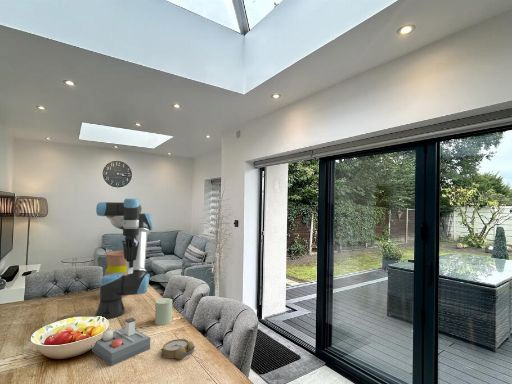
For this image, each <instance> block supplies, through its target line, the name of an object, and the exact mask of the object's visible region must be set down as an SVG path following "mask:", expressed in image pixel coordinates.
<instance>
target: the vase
mask: <svg viewBox="0 0 512 384" xmlns="http://www.w3.org/2000/svg"><path fill="white" fill-rule="evenodd" d="M104 256H105V257H106V258H105V259H106V262H107V263H106V264H107V268H106V270H105V272H104V275H103V277H104V276H106V275H109V274H113V273H122V274H123V275H127V274H126V271H127V261H126V259H124V250H111V251H108V252H104ZM128 296H129V295H123V296H122V298H125V297H128Z"/></svg>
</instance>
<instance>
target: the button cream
mask: <svg viewBox="0 0 512 384" xmlns="http://www.w3.org/2000/svg"><path fill="white" fill-rule="evenodd" d="M113 332H114V330H113V329H107V330H105V331H103V332H102V335H103V342H108V341H111V340H113Z"/></svg>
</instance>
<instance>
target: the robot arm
mask: <svg viewBox="0 0 512 384" xmlns="http://www.w3.org/2000/svg"><path fill="white" fill-rule="evenodd" d="M142 211H143V210H142V205H141V203H140V199H139V198H125V199H124V200H123V201H122V202H111V201H109V202H107V201H103V202H98V203H97V204H96V207H95V212H96V216H98V217H106V218H107V219H108V220H110V223H111V225H112V226H113V227H115V228H116V229H119V230H122V236H124V237H125V238H124V240H122V241H121V243H122V246H123V247H122V249H123V251H124V259H126V261H127V271H126V274H127V275H123V274H122V273H113V274H109V275H106V276H104V275H103V276H102V277H101V279H100V285H99V303H98V306H97V310H96V311H95V317H96V316H102V317H105V318H107V319H106V320H110V319H115V318H118V317H121V316H123V315H124V314H125V313H126V312H125V310H126V309H125V305H124V302H123V297H122V296H123V295H128V296H132V295H133V296H134V295H135V296H136V295H143V294H144V295H145V294H146V293H147V291H148V288H149V282H150V276H151V275H150V273H148V271H147V269H146V259H147V258H146V257H147V245H148V243H147V242H148V235H149V234H150V233H151V231H152V230H153V222H152V221H153V220H152V214H150V213H145V212H143V213H142Z"/></svg>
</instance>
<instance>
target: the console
mask: <svg viewBox="0 0 512 384" xmlns="http://www.w3.org/2000/svg"><path fill="white" fill-rule="evenodd" d="M115 339H122V345H121V346H119V347H116V348H112V347H111V344H112V341H113V340H115ZM113 340H111V341H108V342H103V337H102V338H101V339H100V340H98V341H96V343H95V345H94V347H93V348H92V347H91V349H92V350H91V351H92V353H94V354H95V355H96V356H98V357H99V358H100V359H101V360H103V361H104V362H106V363H107V364H108V365H110V366H115V365H118V364H119V363H122V362H123V361H126V360H128V359H131V358H132V357H135V356H137V355H139V354H142V353H144V352H146V351H149V350H150V349H151V337H150V336H148V335H147V334H144V333H143V332H141V331H139V330H138V329H135V334H133V335H131V336H127V335H125V327H123V328H120V329H117V330H115V331H114V330H113Z"/></svg>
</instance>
